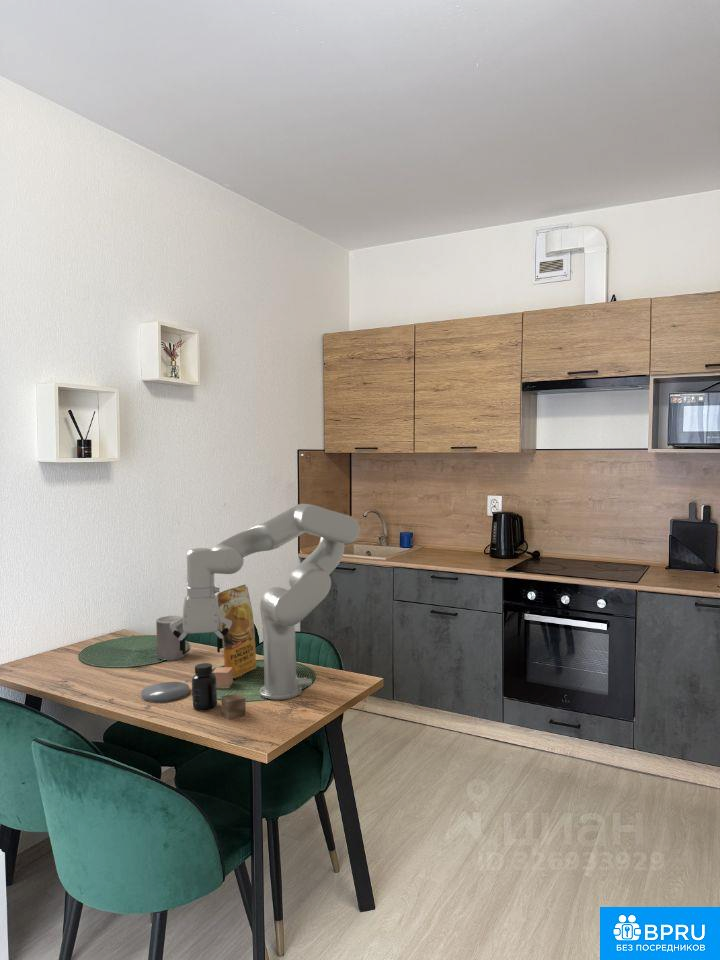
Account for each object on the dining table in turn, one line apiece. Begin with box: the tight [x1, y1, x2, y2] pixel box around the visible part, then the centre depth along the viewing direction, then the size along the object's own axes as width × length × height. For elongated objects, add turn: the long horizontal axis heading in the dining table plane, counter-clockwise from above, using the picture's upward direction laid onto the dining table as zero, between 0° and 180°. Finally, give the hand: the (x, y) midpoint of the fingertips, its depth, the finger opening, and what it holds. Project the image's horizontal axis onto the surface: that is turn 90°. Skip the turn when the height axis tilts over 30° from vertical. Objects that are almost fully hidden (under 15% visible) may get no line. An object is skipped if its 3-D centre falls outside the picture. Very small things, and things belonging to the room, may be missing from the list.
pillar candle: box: [155, 615, 186, 662], centre depth 242 cm, size 10×10×15 cm
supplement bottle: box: [191, 662, 218, 712], centre depth 194 cm, size 7×7×12 cm
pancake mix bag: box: [216, 584, 257, 679], centre depth 223 cm, size 7×19×28 cm, turn 151°
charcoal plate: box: [140, 681, 190, 703], centre depth 205 cm, size 14×14×1 cm
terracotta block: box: [212, 666, 234, 688], centre depth 212 cm, size 5×5×5 cm
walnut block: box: [221, 692, 247, 721], centre depth 188 cm, size 5×5×5 cm
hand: (201, 652), depth 193 cm, fingers open, 9 cm apart
